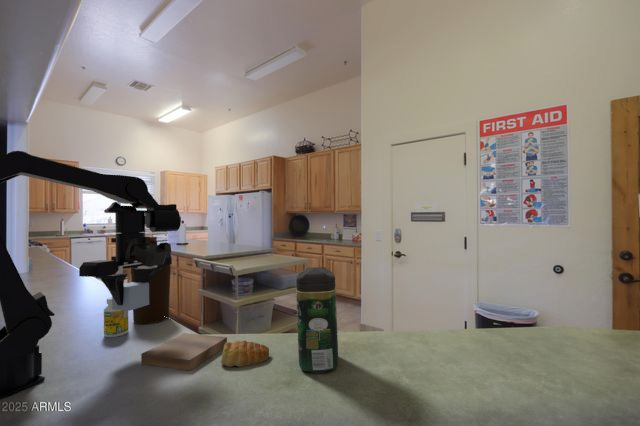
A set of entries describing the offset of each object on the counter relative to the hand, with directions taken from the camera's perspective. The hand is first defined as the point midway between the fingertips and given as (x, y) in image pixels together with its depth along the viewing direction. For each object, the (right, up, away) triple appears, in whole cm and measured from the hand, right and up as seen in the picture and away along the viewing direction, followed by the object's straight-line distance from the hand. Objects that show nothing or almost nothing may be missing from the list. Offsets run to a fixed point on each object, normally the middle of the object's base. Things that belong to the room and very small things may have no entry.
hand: (131, 302), depth 68 cm
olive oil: (-9, -12, +23) cm, 28 cm away
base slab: (+14, -11, -3) cm, 18 cm away
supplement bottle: (-11, -12, +11) cm, 20 cm away
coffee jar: (+42, -10, -9) cm, 44 cm away
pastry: (+27, -11, -6) cm, 29 cm away
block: (0, -1, 0) cm, 1 cm away
